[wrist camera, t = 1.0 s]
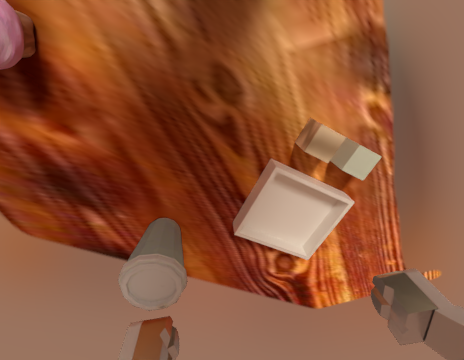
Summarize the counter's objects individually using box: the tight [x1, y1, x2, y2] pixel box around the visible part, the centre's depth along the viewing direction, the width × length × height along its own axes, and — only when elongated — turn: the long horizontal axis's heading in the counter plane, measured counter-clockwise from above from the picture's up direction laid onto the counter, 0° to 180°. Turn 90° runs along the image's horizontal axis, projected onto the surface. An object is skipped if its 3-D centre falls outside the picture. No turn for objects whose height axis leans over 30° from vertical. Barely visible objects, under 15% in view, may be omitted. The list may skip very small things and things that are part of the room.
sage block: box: [330, 137, 381, 180], centre depth 43 cm, size 5×5×5 cm
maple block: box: [295, 118, 346, 163], centre depth 41 cm, size 5×5×5 cm
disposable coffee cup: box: [118, 218, 187, 311], centre depth 43 cm, size 11×11×15 cm
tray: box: [233, 158, 355, 260], centre depth 48 cm, size 16×18×4 cm
